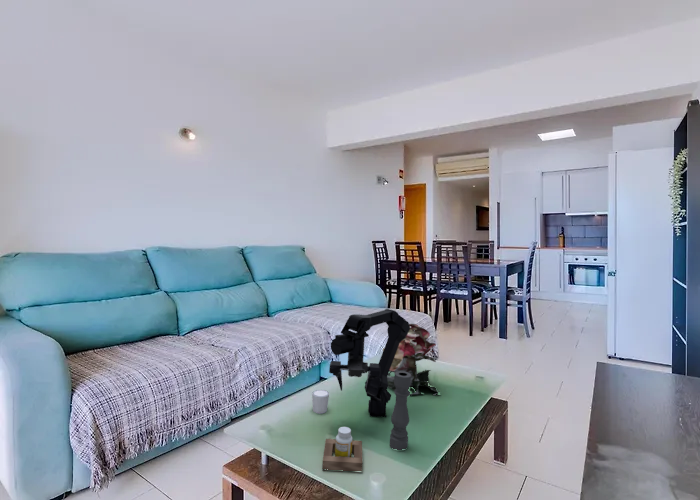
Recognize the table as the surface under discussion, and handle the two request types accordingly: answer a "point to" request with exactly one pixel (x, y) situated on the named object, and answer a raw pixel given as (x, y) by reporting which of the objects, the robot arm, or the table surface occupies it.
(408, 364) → the rose bouquet
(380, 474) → the table surface
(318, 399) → the shot glass
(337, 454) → the supplement bottle
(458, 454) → the table surface
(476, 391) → the table surface
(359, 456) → the socket block
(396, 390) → the candle holder
